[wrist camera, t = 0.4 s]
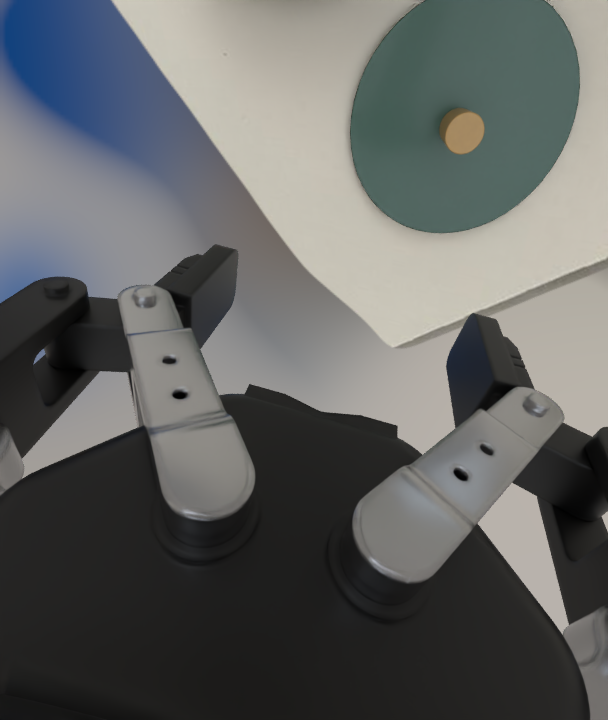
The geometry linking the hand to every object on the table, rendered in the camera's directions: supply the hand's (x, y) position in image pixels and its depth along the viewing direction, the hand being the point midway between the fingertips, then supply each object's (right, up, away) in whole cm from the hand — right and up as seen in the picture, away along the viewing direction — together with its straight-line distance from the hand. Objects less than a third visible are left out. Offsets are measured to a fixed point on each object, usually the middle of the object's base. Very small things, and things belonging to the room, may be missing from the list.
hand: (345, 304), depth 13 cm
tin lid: (+11, +17, +18) cm, 27 cm away
